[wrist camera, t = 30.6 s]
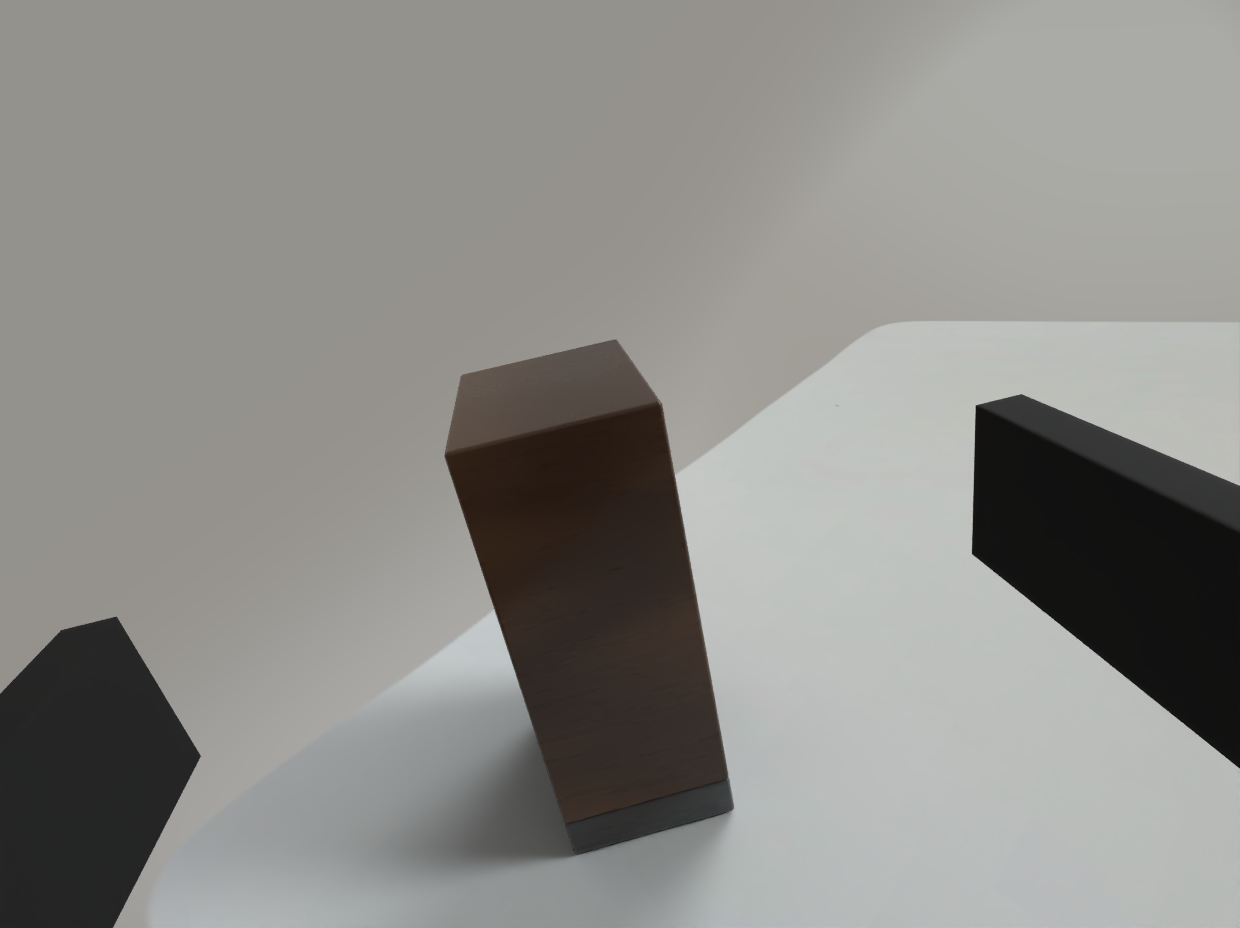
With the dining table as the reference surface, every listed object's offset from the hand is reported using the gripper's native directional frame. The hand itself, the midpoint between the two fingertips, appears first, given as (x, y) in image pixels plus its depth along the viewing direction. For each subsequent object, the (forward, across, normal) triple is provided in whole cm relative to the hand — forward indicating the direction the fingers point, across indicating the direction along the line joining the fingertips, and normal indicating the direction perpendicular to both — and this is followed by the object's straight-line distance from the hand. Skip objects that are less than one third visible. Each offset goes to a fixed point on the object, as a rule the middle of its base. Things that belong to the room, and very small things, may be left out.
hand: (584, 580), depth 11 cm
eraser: (+7, 0, -11) cm, 13 cm away
